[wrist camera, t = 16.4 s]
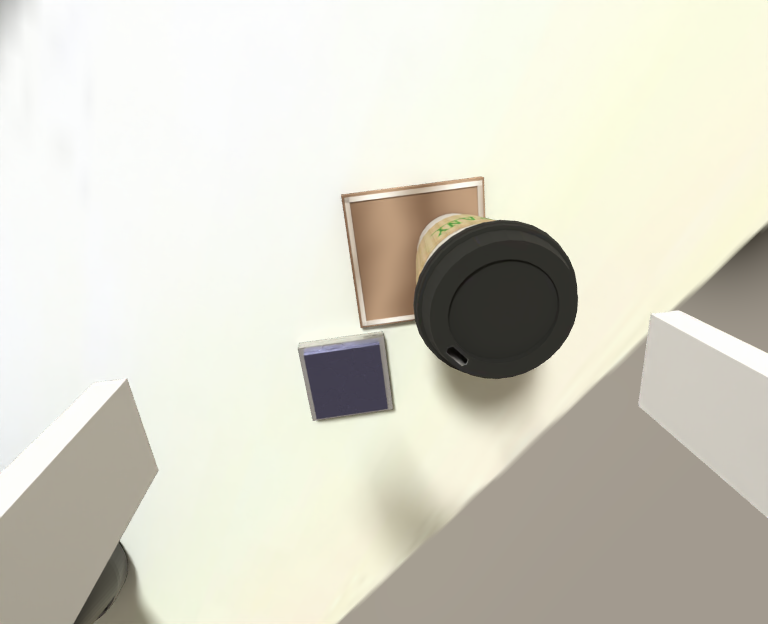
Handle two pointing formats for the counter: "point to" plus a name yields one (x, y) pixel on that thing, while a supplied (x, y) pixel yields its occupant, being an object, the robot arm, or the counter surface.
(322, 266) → the counter surface
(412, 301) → the board
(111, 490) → the robot arm
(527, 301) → the coffee cup
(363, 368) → the ink pad
